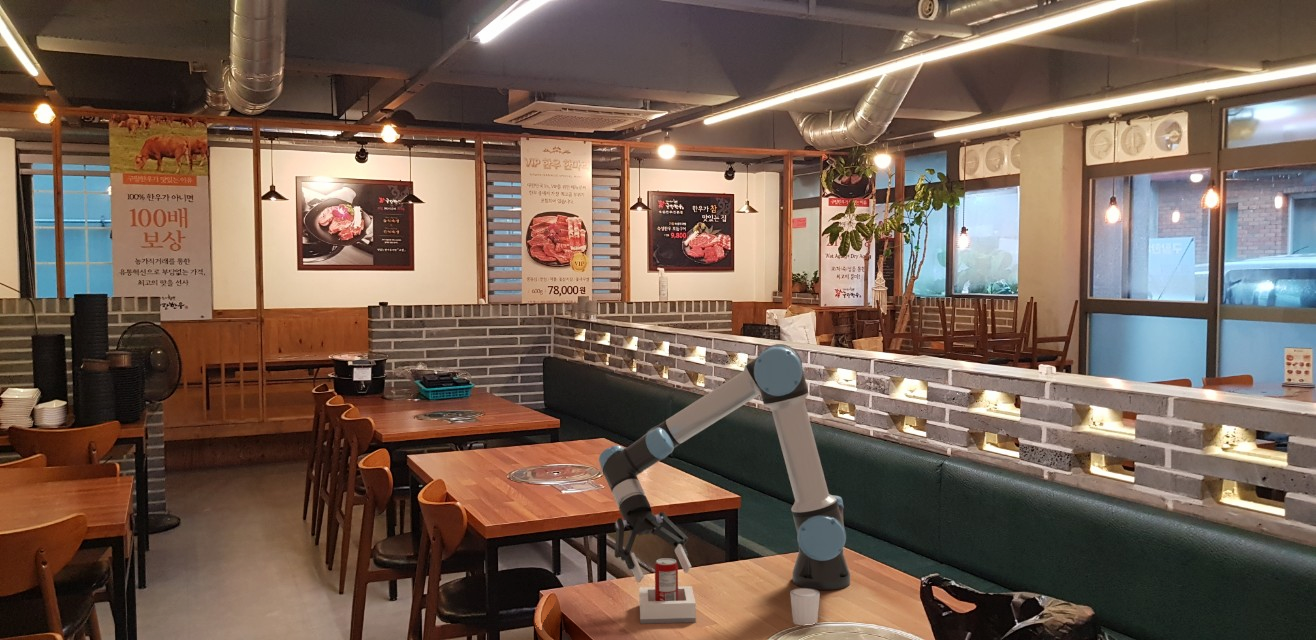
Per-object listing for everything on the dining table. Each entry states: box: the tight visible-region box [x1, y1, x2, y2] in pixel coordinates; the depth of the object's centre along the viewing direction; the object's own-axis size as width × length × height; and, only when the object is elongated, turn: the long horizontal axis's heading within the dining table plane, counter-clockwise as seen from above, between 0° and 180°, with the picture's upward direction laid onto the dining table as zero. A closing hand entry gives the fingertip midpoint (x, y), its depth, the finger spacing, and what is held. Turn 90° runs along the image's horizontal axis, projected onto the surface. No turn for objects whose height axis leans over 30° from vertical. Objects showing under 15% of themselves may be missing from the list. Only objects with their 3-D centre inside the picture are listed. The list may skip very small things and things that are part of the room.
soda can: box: [654, 557, 679, 601], centre depth 230 cm, size 6×6×12 cm
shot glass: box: [789, 587, 821, 626], centre depth 224 cm, size 7×7×7 cm
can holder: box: [638, 585, 697, 624], centre depth 230 cm, size 13×13×4 cm
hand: (664, 574), depth 230 cm, fingers open, 13 cm apart
